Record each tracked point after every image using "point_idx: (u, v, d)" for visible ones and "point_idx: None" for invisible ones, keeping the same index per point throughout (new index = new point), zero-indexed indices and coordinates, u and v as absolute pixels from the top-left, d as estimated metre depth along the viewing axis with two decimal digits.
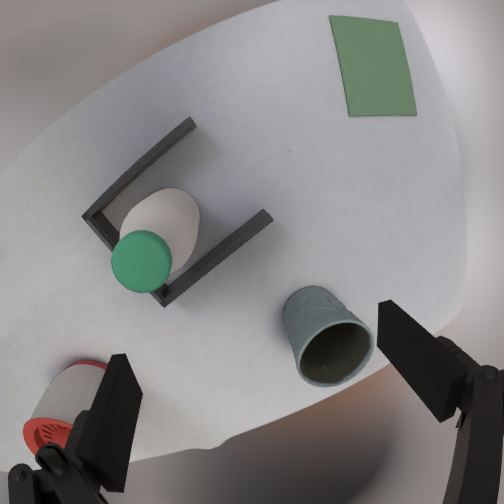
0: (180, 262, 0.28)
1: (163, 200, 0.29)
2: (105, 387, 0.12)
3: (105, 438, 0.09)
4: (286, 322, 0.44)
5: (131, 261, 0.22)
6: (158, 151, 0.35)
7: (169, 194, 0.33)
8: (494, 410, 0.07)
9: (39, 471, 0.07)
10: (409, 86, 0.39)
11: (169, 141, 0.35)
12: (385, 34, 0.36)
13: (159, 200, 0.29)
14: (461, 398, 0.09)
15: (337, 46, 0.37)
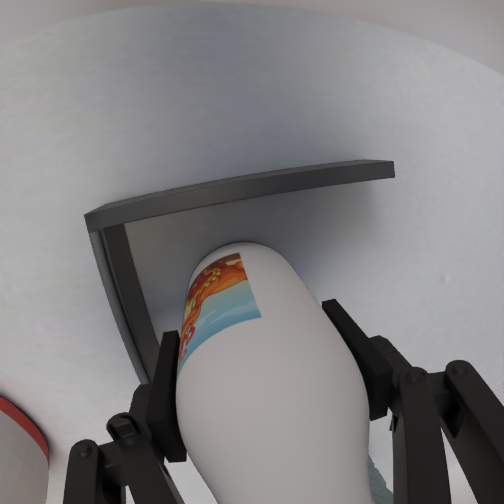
0: None
1: (344, 350, 0.11)
2: (164, 360, 0.13)
3: (171, 407, 0.11)
4: None
5: None
6: (312, 185, 0.17)
7: (315, 302, 0.15)
8: (427, 411, 0.08)
9: (103, 446, 0.09)
10: None
11: (341, 180, 0.17)
12: None
13: (339, 348, 0.11)
14: (390, 398, 0.11)
15: None
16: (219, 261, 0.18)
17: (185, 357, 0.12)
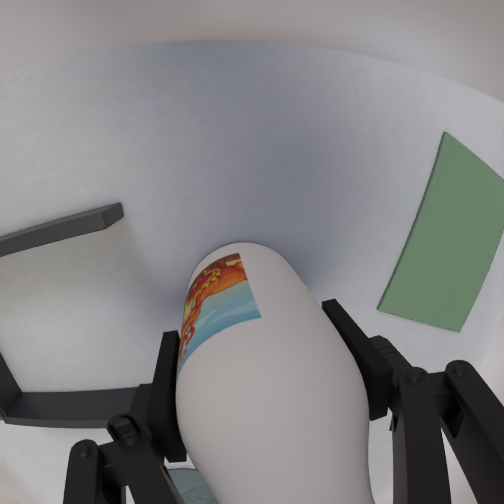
0: None
1: (344, 350, 0.11)
2: (164, 360, 0.13)
3: (172, 407, 0.11)
4: None
5: None
6: (32, 245, 0.16)
7: (315, 302, 0.15)
8: (427, 411, 0.08)
9: (103, 446, 0.09)
10: (476, 290, 0.26)
11: (53, 238, 0.16)
12: (494, 202, 0.24)
13: (339, 349, 0.11)
14: (390, 398, 0.11)
15: (429, 190, 0.22)
16: (219, 261, 0.18)
17: (185, 357, 0.12)
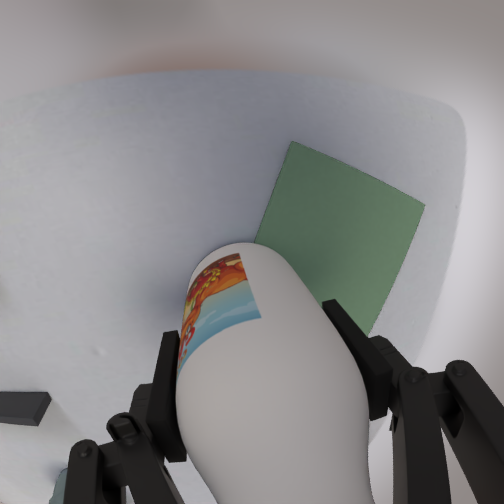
0: None
1: (344, 350, 0.11)
2: (164, 360, 0.13)
3: (172, 407, 0.11)
4: (54, 489, 0.24)
5: None
6: None
7: (315, 302, 0.15)
8: (427, 411, 0.08)
9: (103, 446, 0.09)
10: (365, 329, 0.25)
11: None
12: (386, 222, 0.23)
13: (338, 349, 0.11)
14: (390, 398, 0.11)
15: (266, 215, 0.21)
16: (219, 261, 0.18)
17: (185, 357, 0.12)
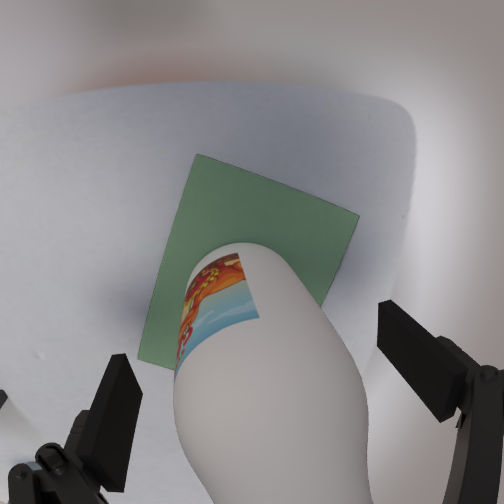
0: None
1: (343, 351, 0.11)
2: (105, 387, 0.12)
3: (105, 439, 0.09)
4: None
5: None
6: None
7: (314, 302, 0.14)
8: (494, 410, 0.07)
9: (39, 471, 0.07)
10: None
11: None
12: (309, 236, 0.22)
13: (337, 349, 0.10)
14: (461, 398, 0.09)
15: (172, 232, 0.21)
16: (217, 261, 0.18)
17: (183, 358, 0.11)
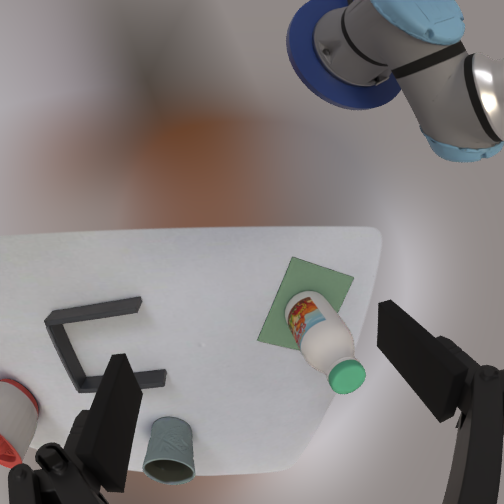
0: None
1: (347, 328, 0.42)
2: (105, 387, 0.12)
3: (105, 439, 0.09)
4: (151, 432, 0.55)
5: (347, 378, 0.35)
6: (106, 316, 0.46)
7: None
8: (494, 410, 0.07)
9: (39, 471, 0.07)
10: None
11: (116, 314, 0.46)
12: (333, 286, 0.53)
13: (345, 327, 0.42)
14: (461, 398, 0.09)
15: (281, 287, 0.52)
16: (303, 300, 0.49)
17: (305, 332, 0.43)
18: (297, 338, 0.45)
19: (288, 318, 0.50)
